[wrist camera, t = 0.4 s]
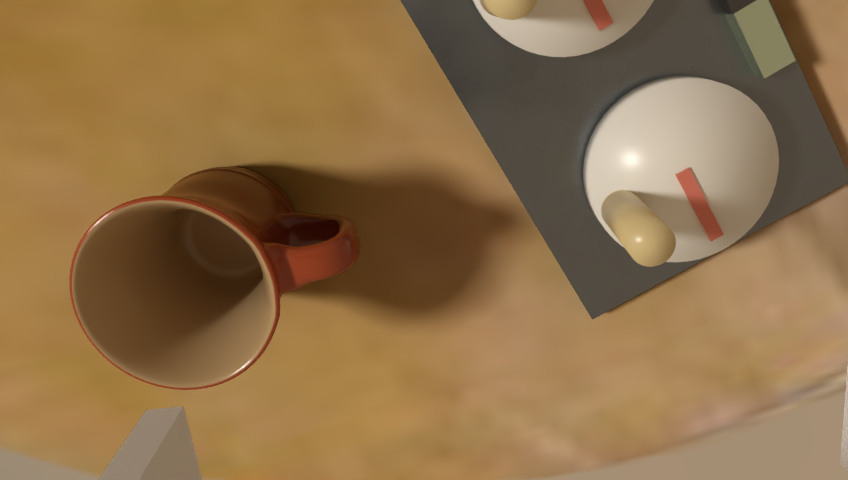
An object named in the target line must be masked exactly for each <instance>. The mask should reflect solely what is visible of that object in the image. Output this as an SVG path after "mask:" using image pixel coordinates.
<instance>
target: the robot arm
mask: <svg viewBox="0 0 848 480" xmlns="http://www.w3.org/2000/svg"><path fill="white" fill-rule="evenodd" d="M840 463H841V465H842V466H843V467H844V468H845V469H846V470H847V472H848V369H847V382H846V394H845V407H844V419H843V433H842V445H841V457H840ZM98 480H202V477H201V473H200V469H199V465H198V462H197V458H196V454H195V450H194V446H193V442H192V438H191V434H190V430H189V426H188V422H187V418H186V414H185V411H184V407H183V406H182V407H172V408H161V409H151V410H146V411H145V413H144V414H143V416H142V417H141V418H140V420H139V421H138V423H137V424H136V426H135V427H134V429H133V430H132V431H131V433H130V434H129V436H128V437H127V439H126V440H125V442H124V443H123V445H122V446H121V447H120V449H119V450H118V452H117V453H116V455H115V456H114V458H113V459H112V460H111V462H110V463H109V465H108V466H107V468H106V469H105V471H104V472H103V473H102V475H101V476H100V478H99V479H98Z"/></svg>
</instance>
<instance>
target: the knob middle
mask: <svg viewBox="0 0 848 480" xmlns="http://www.w3.org/2000/svg"><path fill="white" fill-rule="evenodd" d="M472 1H473V3H474V5H475V7H476V9H477V10H478V12H479V13H480V15H481V16H482V18H483V19H484V20H485V21H486V23H487V24H488V25H489V26H490V27H491V28H492V29H493V30H494V31H495V32H496V33H497V34H499V35H500V36H501V37H502V38H504V39H505V40H507V41H509V42H510V43H512V44H513V45H515V46H517V47H519V48H521V49H524V50H526V51H529V52H532V53H535V54H538V55H544V56H550V57H570V56H578V55H582V54H587V53H590V52H593V51H596V50H598V49H601V48H603V47H605V46H607V45H609V44H611V43H613V42H614V41H616V40H617V39H619V38H620V37H622V36H623V35H624V34H626V33H627V32H628V31H629V30H630V29H631V28H632V27H633V26H635V25H636V24H637V22H638V21H639V20H640V19H641V18H642V17H643V16H644V14H645V13H646V12H647V10H648V9H649V7H650V6H651V4H652V3H653V1H654V0H472Z"/></svg>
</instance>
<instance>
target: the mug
mask: <svg viewBox="0 0 848 480" xmlns="http://www.w3.org/2000/svg"><path fill="white" fill-rule="evenodd" d="M359 254H360V240H359V236H358V232H357V229H356V227H355V225H354V223H353V222H352V221H351V220H350V219H348V218H346V217H343V216H339V215H321V214H311V213H304V212H295V211H294V209H293V206H292V204H291V202H290V200H289V198H288V197H287V195H286V194H285V193H284V192H283V191H282V190H281V189H280V188H279V187H278V186H277V185H276V184H274V183H273V182H272V181H271V180H269V179H268V178H266V177H264V176H263V175H261V174H259V173H257V172H254V171H251V170H248V169H244V168H239V167H216V168H210V169H206V170H202V171H198V172H195V173H193V174H190V175H188V176H186V177H184V178H183V179H181V180H180V181H178V182H177V183H176V184H174V185H173V186H172V187H171V188H170V189H169V190H168V191H166V192H165V193H164V194H163V195H161V196H150V197H143V198H139V199H135V200H131V201H129V202H126V203H123V204H121V205H119V206H117V207H115V208H113V209H111V210H110V211H108V212H106V213H105V214H104V215H102V216H101V217H100V218H99V219H97V220H96V221H95V222H94V223H93V224H92V225H91V226H90V228H89V229H88V230H87V232H86V233H85V234H84V236H83V237H82V239H81V241H80V242H79V244H78V246H77V249H76V251H75V254H74V257H73V260H72V264H71V269H70V295H71V300H72V305H73V309H74V312H75V315H76V317H77V319H78V322H79V324H80V326H81V328H82V330H83V331H84V333H85V335H86V336H87V338H88V339H89V341H90V342H91V343H92V344H93V346H94V347H95V348H96V349H97V350H98V351H99V352H100V353H101V354H102V355H103V357H105V358H106V359H107V360H108V361H109V362H110V363H112V364H113V365H114V366H116V367H117V368H118V369H120V370H122V371H123V372H125V373H126V374H128V375H130V376H132V377H134V378H136V379H138V380H141V381H143V382H146V383H149V384H152V385H155V386H159V387H164V388H170V389H180V390H192V389H202V388H208V387H212V386H216V385H219V384H222V383H224V382H227V381H229V380H231V379H233V378H235V377H237V376H238V375H240V374H241V373H243V372H244V371H246V370H247V369H248V368H249V367H250V366H251V365H253V364H254V363H255V362H256V361H257V359H258V358H259V357H260V356H261V355H262V353H263V352H264V351H265V349H266V348H267V346H268V344H269V342H270V341H271V338H272V336H273V334H274V332H275V329H276V326H277V323H278V320H279V316H280V297H281V296H282V294H284V293H287V292H290V291H294V290H296V289H298V288H300V287H301V286H303V285H305V284H308V283H311V282H315V281H319V280H323V279H326V278H330V277H333V276H336V275H338V274H341V273H343V272H345V271H346V270H348V269H349V268H351V267H352V266H353V265H354V264H355V263H356V261H357V259H358V257H359Z"/></svg>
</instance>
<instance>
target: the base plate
mask: <svg viewBox="0 0 848 480" xmlns="http://www.w3.org/2000/svg"><path fill="white" fill-rule="evenodd" d="M401 2H402V4H403V5H404V7H405V8H406V10H407V12H408V13H409V15H410V17H411V18H412V20H413V22H414V23H415V25H416V27H417V28H418V30H419V32H420V33H421V35H422V37H423V38H424V40H425V42H426V43H427V45H428V47H429V48H430V50H431V52H432V53H433V55H434V57H435V58H436V60H437V62H438V63H439V65H440V67H441V68H442V70H443V72H444V73H445V75H446V77H447V78H448V80H449V82H450V83H451V85H452V87H453V88H454V90H455V92H456V93H457V95H458V97H459V98H460V100H461V102H462V103H463V105H464V107H465V108H466V110H467V112H468V113H469V115H470V117H471V118H472V120H473V122H474V123H475V125H476V127H477V128H478V130H479V132H480V133H481V135H482V137H483V138H484V140H485V142H486V143H487V145H488V147H489V148H490V150H491V152H492V153H493V155H494V157H495V158H496V160H497V162H498V163H499V165H500V167H501V168H502V170H503V172H504V173H505V175H506V177H507V178H508V180H509V182H510V183H511V185H512V186H513V188H514V190H515V191H516V193H517V195H518V196H519V198H520V200H521V201H522V203H523V205H524V206H525V208H526V210H527V211H528V213H529V215H530V216H531V218H532V220H533V221H534V223H535V225H536V226H537V228H538V230H539V231H540V233H541V235H542V236H543V238H544V240H545V241H546V243H547V245H548V246H549V248H550V250H551V251H552V253H553V255H554V256H555V258H556V260H557V261H558V263H559V265H560V266H561V268H562V270H563V271H564V273H565V275H566V276H567V278H568V280H569V281H570V283H571V285H572V286H573V288H574V290H575V291H576V293H577V295H578V296H579V298H580V300H581V301H582V303H583V305H584V306H585V308H586V310H587V311H588V313H589V315H590V316H591V318H592V319H594V318H596V317H598V316H600V315H602V314H603V313H605V312H607V311H609V310H611V309H613V308H615V307H617V306H618V305H620V304H622V303H624V302H626V301H628V300H630V299H631V298H633V297H635V296H637V295H639V294H641V293H643V292H644V291H646V290H648V289H650V288H652V287H654V286H656V285H658V284H659V283H661V282H663V281H665V280H667V279H669V278H671V277H672V276H674V275H676V274H678V273H680V272H682V271H684V270H686V269H687V268H689V267H691V266H693V265H695V264H697V263H699V262H700V261H702V260H704V259H706V258H708V257H710V256H712V255H710V256H707V257H704V258H701V259H697V260H693V261H687V262H664V263H663V264H661V265H658V266H653V267H647V266H643V265H640V264H638V263H637V262H636V261H634V260H633V258H632V257H631V256H630V254H629V253H628V252H627V250H626V249H625V248H624V247H622V246H621V245H620V244H619V243H618V242H616V241H615V240H614V239H613V238H612V237H611V236H610V235H609V234H608V232H607V231H606V230H605V229H604V227H603V226H602V225H601V223H600V222H599V220H598V219H597V217H596V216H595V214H594V213H593V211H592V209H591V207H590V205H589V203H588V200H587V196H586V193H585V188H584V182H583V165H584V157H585V153H586V148H587V145H588V143H589V140H590V137H591V135H592V133H593V131H594V129H595V127H596V125H597V124H598V122H599V121H600V120H601V118H602V117H603V115H604V114H605V113H606V112H607V111H608V110H609V108H610V107H611V106H612V105H613V104H614V103H616V102H617V101H618V100H619V99H620V98H621V97H623V96H624V95H625V94H627V93H628V92H630V91H631V90H633V89H635V88H637V87H639V86H641V85H643V84H645V83H648V82H650V81H653V80H656V79H660V78H665V77H671V76H696V77H702V78H706V79H710V80H713V81H716V82H720V83H723V84H726V85H729V86H731V87H733V88H735V89H737V90H739V91H740V92H742V93H743V94H745V95H746V96H748V97H749V98H750V99H751V100H752V101H753V102H755V103H756V104H757V105H758V106H759V108H760V109H761V110H762V111H763V113H764V114H765V115H766V117H767V119H768V121H769V122H770V124H771V126H772V129H773V131H774V134H775V137H776V141H777V146H778V154H779V169H778V176H777V181H776V185H775V188H774V191H773V194H772V197H771V199H770V201H769V203H768V205H767V207H766V209H765V210H764V212H763V214H762V215H761V217H760V218H759V219H758V221H757V222H756V223H755V224H754V226H753V227H752V228H751V229H750V230H749V231H748V232H747V233H746V234H745V235H744V236H742V237H741V238H740V239H739V240H737V241H736V242H738V241H740V240H741V239H743V238H745V237H747V236H749V235H751V234H753V233H754V232H756V231H758V230H760V229H762V228H764V227H766V226H768V225H769V224H771V223H773V222H775V221H777V220H779V219H781V218H782V217H784V216H786V215H788V214H790V213H792V212H794V211H796V210H797V209H799V208H801V207H803V206H805V205H807V204H809V203H810V202H812V201H814V200H816V199H818V198H820V197H822V196H823V195H825V194H827V193H829V192H831V191H833V190H835V189H837V188H838V187H840V186H842V185H844V184H846V183H848V171H847V169H846V167H845V165H844V162H843V160H842V158H841V156H840V154H839V151H838V149H837V147H836V145H835V143H834V140H833V138H832V136H831V134H830V132H829V129H828V127H827V125H826V123H825V121H824V118H823V116H822V114H821V112H820V110H819V107H818V105H817V103H816V101H815V99H814V96H813V94H812V92H811V90H810V87H809V85H808V83H807V81H806V79H805V76H804V74H803V72H802V70H801V68H800V65H799V63H798V61H797V59H796V57H795V54H794V52H793V50H792V48H791V46H790V43H789V41H788V39H787V37H786V35H785V32H784V30H783V28H782V26H781V24H780V21H779V19H778V17H777V15H776V13H775V10H774V8H773V6H772V4H771V1H770V0H654V1H653V3H652V4H651V6H650V7H649V9H648V10H647V12H646V13H645V14H644V16H643V17H642V18H641V19H640V20H639V21H638V22H637V24H636V25H635V26H633V27H632V28H631V29H630V30H629V31H628V32H627V33H626V34H624V35H623V36H622V37H620V38H619V39H617V40H616V41H614V42H613V43H611V44H609V45H607V46H605V47H603V48H601V49H598V50H596V51H593V52H590V53H587V54H582V55H578V56H570V57H550V56H544V55H538V54H535V53H532V52H529V51H526V50H524V49H521V48H519V47H517V46H515V45H513V44H512V43H510V42H509V41H507V40H505V39H504V38H502V37H501V36H500V35H499V34H497V33H496V32H495V31H494V30H493V29H492V28H491V27H490V26H489V25H488V24H487V23H486V21H485V20H484V19H483V18H482V16H481V15H480V13H479V12H478V10H477V9H476V7H475V5H474V3H473V1H472V0H401ZM736 242H735V243H736ZM733 244H734V243H733Z"/></svg>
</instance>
